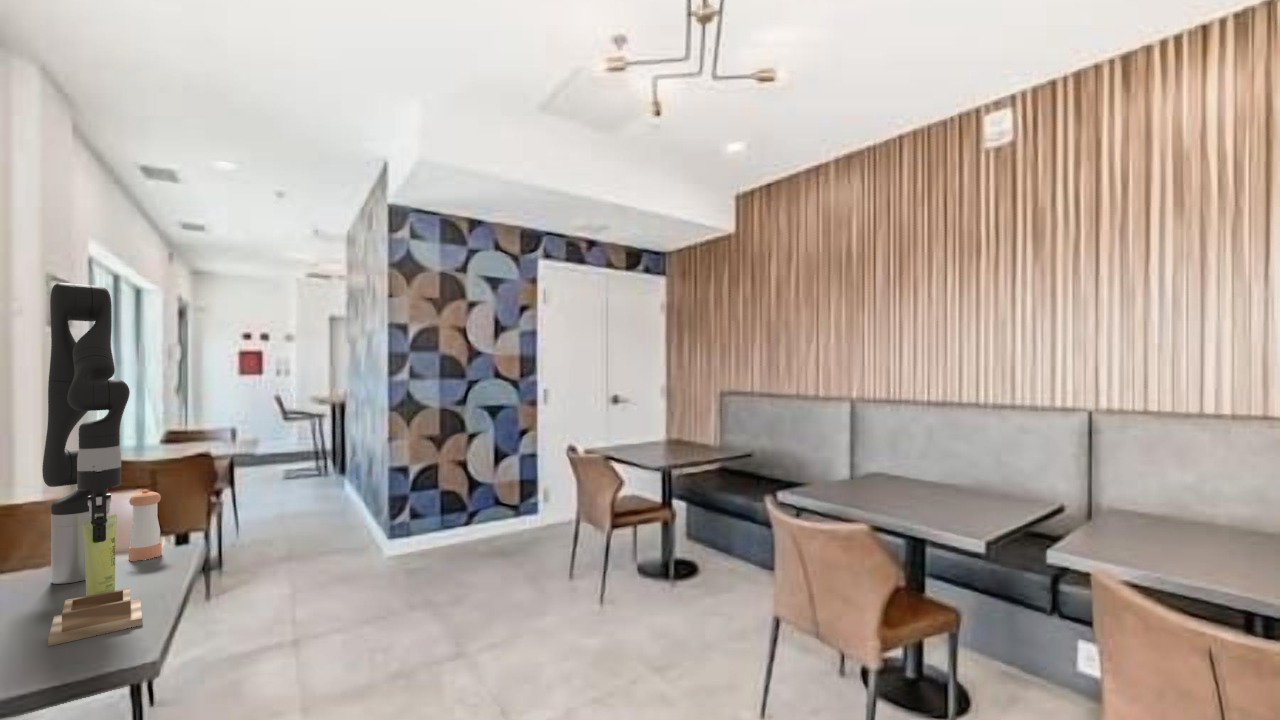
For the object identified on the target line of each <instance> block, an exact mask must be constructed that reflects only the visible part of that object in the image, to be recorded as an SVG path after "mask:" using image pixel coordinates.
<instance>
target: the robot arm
mask: <svg viewBox="0 0 1280 720" xmlns="http://www.w3.org/2000/svg"><path fill="white" fill-rule="evenodd" d="M49 298H50V299H49V301H50V303H49V304H50V306H49V307H50V309H49V310H50V312H49V314H50V338H51V340H50V342H51V344H50V357H49V358H50V361H49V369H48V370H49V373H48V382H47V383H48V386H47V401H48V402H47V412H48V413H47V428H46V436H45V444H44V450H43V451H44V452H43V458H42V459H43V460H42V471H41V472H42V478H43V482H44V484H45V485H46V486H47V487H49V488H56V487H65V486H66V487H67V486H72V485H76V486H77V487H76V488H77V489H76V490H75V491H74V492H72V493H70V494H68V495H65V496H64V497H61V498H58V499H56V500H55V501H53V502H51V503H52V504H51V507H50V509H51V510H50V519H51V520H50V525H51V526H50V529H51V530H50V531H51V533H50V534H51V538H50V541H51V545H50V550H51V551H50V558H51V559H50V561H51V562H50V563H51V564H50V567H51V568H50V573H51V574H50V582H51V584H55V585H56V584H58V585H59V584H70V583H77V582H81V581H86V572H85V549H84V534H83V523H84V522H88V521H91V525H92V526H93V542H94V543H97V542H104V541H105V540H106V524H107V516H110V512H111V511H110V509H111V507H110V506H111V503H112V493H108V491H109V489H112V488H117V487H119V486H120V485H122V453H121V448H120V439H121V438H120V434H121V433H120V429H121V422H122V418H123V415H124V412H125V408H126V406H127V403H128V401H129V398H130V391H131V390H130V387H129V385H128V384H127V383H126V382H125V381H124V380H121V379H111V378H113V376H114V375H115V372H116V371H115V370H116V368H115V362H114V357H113V351H112V329H113V328H112V325H113V324H112V322H113V321H112V318H113V317H112V314H113V313H112V312H113V311H112V298H111V294H110V292H109V290H108V289H107V288H106V287H103V286H101V285H100V286H99V285H93V284H92V285H91V284H78V283H70V282H69V283H68V282H67V283H66V282H58V283H55V284H54V285H53V286H52V288H51V290H50V297H49ZM69 321H77V322H94V324H92V326H91V328H90V329H89V330H88V331H87V332H85V333H84V334H83V335H82V336H81V337H79V339H78V340H77V341H76V339H75V338H74V337H73V334H72V332H71V329H70V325H69ZM91 411H93V412H94V411H108V412H107V414H106V415H105V416H104V417H102V418H99V419H96V420H91V421H86V422H83V423H81V424H80V425H79V427H78V447H76V448H75V447H74V448H66V447H67V446H66V445H67V442H68V440H69V437H70V435H71V433H72V432H73V430H74V428H75V426H77V424H78V423H79V422H80V421H81V420H82V418H84V416H85V415H86V414H87V413H89V412H91ZM103 517H104V518H103Z"/></svg>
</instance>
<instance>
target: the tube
mask: <svg viewBox="0 0 1280 720" xmlns="http://www.w3.org/2000/svg"><path fill="white" fill-rule="evenodd" d="M103 518H104V517H103ZM117 518H118V515H117V513H115V514H111V515H107V524H106V540H105V541H104V542H97V543H94V542H93V526H92V525H91V521H88V522H84V523H83V534H84V549H85V572H86V580H85V596H90V595H95V594H100V593H105V592H111V591H116V544H117V543H116V540H117V539H116V537H117V522H118V521H117Z"/></svg>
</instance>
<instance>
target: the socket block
mask: <svg viewBox="0 0 1280 720" xmlns="http://www.w3.org/2000/svg"><path fill="white" fill-rule="evenodd" d="M136 626H137V627H140V626H143V612H142V603H141V598H138V599H134V600H133V599H132V600H131V587H128V588H123V589H121V588H120V589H117V590H116V589H115V591H111V592H105V593H100V594H95V595H90V596H86V595H84V596H80V597H73V598H69V599H65V600H64V604H63V609H62V612H61V614H59V615H54V616H53V620H52V623H51V627H50V630H49V634H48V638H47V640H48V642H47V644H48V645H47V647H52V646H55V645H60V644H64V643H68V642H74V641H78V640H83V639H87V638H91V637H96V635H97V636H99V635H101V636H102V635H104V634H105V633H106V634H110V633H115V632H119V631H123V630H128V629H131V627H132V628H135V627H136ZM127 628H128V629H127ZM106 634H105V635H106Z"/></svg>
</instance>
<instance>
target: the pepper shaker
mask: <svg viewBox="0 0 1280 720" xmlns="http://www.w3.org/2000/svg"><path fill="white" fill-rule="evenodd" d="M161 499H162V495H161V493H159V492H155V491H149V489H143V490H142V491H141V492H138V493H135V494H133V495H131V496H130V498H129V500H128V503H129V505H130V506H132V524H131V528H130V534H129V539H130V540H129V541H130V546H128V561H129V560H130V562H138V561H137V560H143V561H146V560H145V559H149V560H151V559H150V558H153V559H155V558H154V557H157V556H159V557H161V556H162V554H163V552H162V549H163V548H162V547H163V546H162V541H161V528H160V522H159V518H158V514H159V513H158V503H160V501H161ZM160 555H161V556H160ZM157 558H158V557H157Z"/></svg>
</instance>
